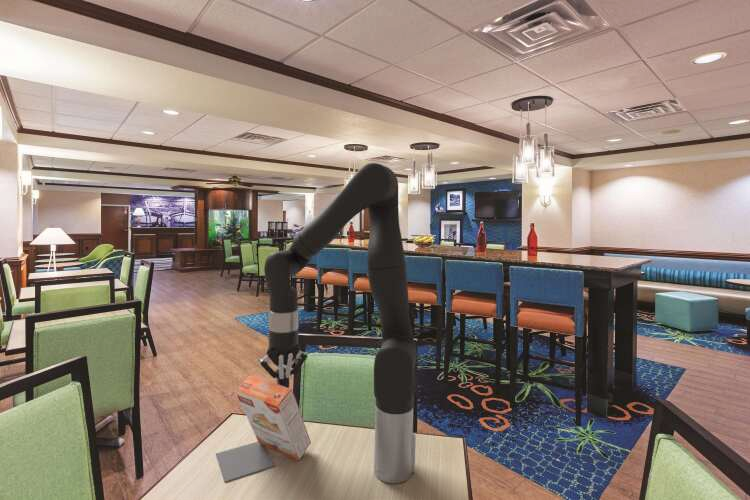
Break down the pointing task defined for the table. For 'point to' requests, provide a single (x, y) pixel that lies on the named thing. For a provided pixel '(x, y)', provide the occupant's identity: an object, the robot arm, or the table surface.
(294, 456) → the cracker box
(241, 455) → the mat
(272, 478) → the table surface
